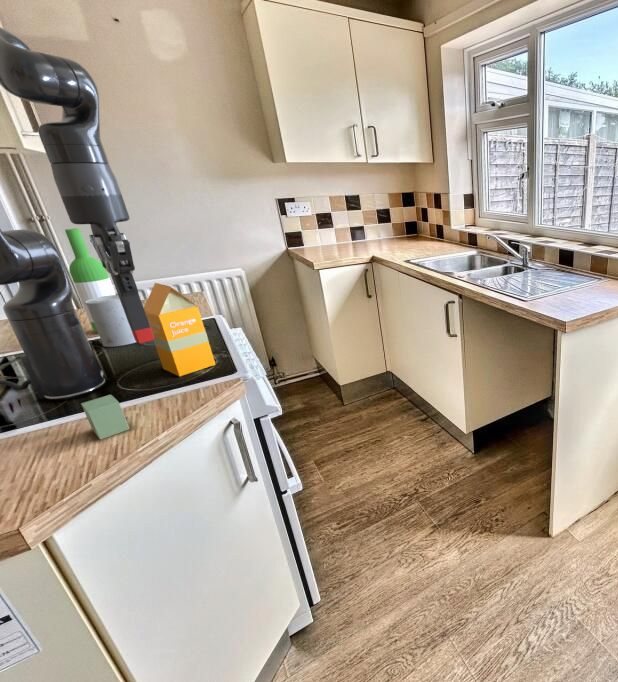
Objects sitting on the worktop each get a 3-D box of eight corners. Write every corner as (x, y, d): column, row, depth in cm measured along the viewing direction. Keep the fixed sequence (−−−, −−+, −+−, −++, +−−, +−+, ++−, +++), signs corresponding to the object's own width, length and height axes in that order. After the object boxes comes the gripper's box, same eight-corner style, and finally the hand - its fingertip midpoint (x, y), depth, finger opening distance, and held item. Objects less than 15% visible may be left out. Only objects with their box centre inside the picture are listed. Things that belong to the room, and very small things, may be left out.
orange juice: (179, 376, 95) (149, 290, 88) (162, 368, 99) (132, 286, 92) (216, 364, 101) (191, 282, 94) (199, 357, 106) (174, 279, 98)
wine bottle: (90, 331, 128) (48, 230, 117) (122, 324, 134) (85, 227, 123) (99, 335, 124) (57, 231, 113) (132, 327, 130) (94, 227, 119)
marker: (111, 268, 73) (129, 266, 75) (107, 267, 75) (125, 265, 76) (139, 343, 78) (155, 339, 80) (135, 341, 80) (150, 337, 81)
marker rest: (100, 439, 72) (87, 411, 70) (93, 430, 75) (80, 403, 73) (129, 429, 75) (118, 401, 73) (121, 420, 78) (110, 394, 76)
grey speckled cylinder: (94, 344, 117) (77, 301, 112) (134, 333, 125) (119, 293, 120) (115, 348, 113) (97, 304, 109) (154, 336, 121) (139, 295, 117)
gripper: (132, 192, 69) (166, 294, 76) (109, 192, 77) (142, 285, 83) (69, 194, 64) (112, 304, 70) (51, 194, 72) (91, 293, 78)
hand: (128, 293), depth 77 cm, fingers closed on marker, 2 cm apart
